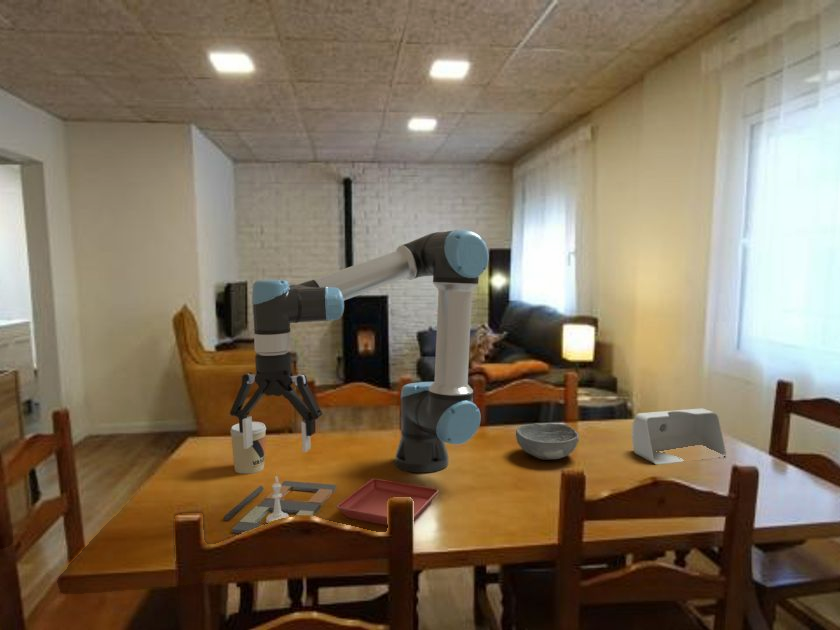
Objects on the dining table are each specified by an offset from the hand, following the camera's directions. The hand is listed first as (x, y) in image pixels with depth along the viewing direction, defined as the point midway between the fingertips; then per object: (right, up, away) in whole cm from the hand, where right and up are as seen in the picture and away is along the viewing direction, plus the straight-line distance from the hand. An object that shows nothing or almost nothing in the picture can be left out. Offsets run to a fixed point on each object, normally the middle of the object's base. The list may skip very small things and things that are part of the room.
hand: (277, 448), depth 119 cm
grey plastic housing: (+107, -12, +45) cm, 117 cm away
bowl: (+68, -13, +41) cm, 81 cm away
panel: (+1, -16, +7) cm, 17 cm away
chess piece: (0, -16, +1) cm, 16 cm away
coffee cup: (-16, -14, +32) cm, 38 cm away
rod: (-10, -15, +9) cm, 21 cm away
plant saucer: (+24, -16, +7) cm, 30 cm away
